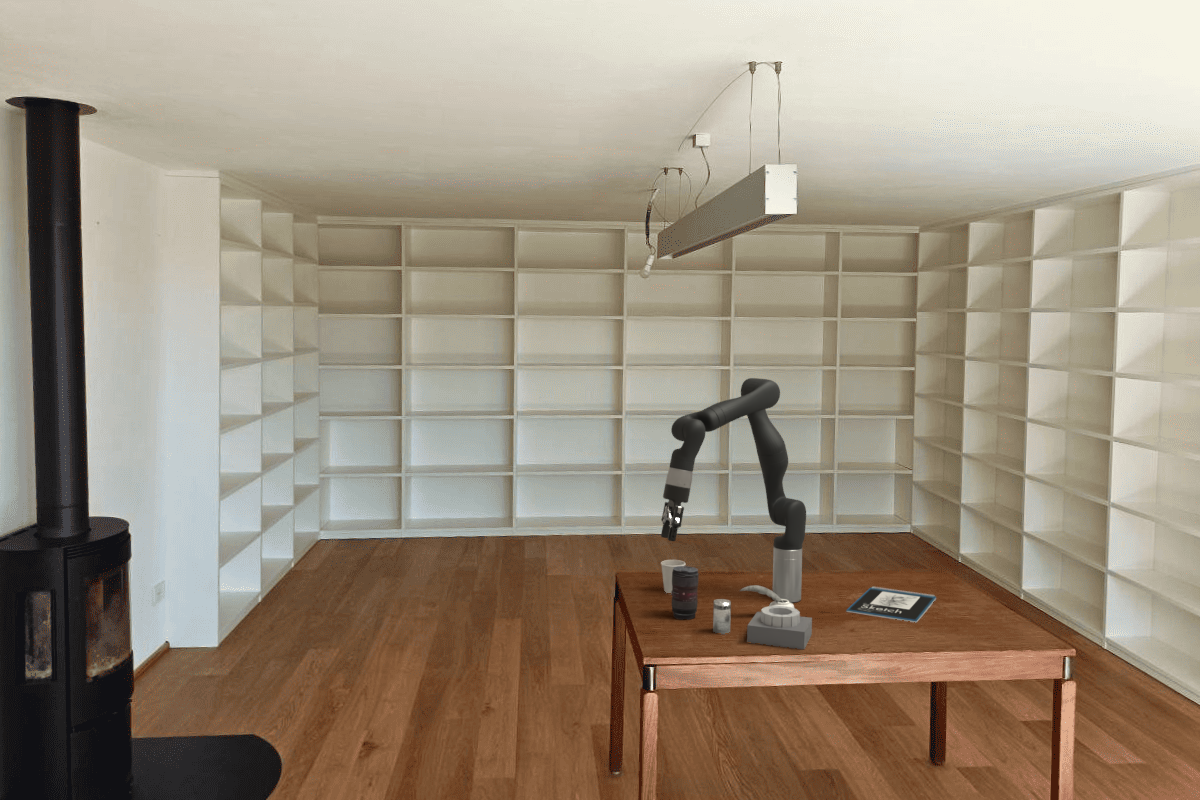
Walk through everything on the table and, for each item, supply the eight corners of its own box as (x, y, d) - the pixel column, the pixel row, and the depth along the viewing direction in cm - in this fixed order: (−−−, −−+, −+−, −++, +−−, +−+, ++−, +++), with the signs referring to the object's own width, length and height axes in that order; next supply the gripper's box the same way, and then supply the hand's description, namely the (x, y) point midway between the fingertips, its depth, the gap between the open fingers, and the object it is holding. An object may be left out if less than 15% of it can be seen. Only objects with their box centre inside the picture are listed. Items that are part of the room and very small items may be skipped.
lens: (715, 628, 288) (715, 598, 287) (731, 630, 286) (732, 600, 285) (711, 633, 283) (711, 602, 283) (728, 635, 282) (728, 604, 281)
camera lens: (696, 621, 294) (697, 572, 293) (669, 619, 296) (670, 571, 295) (699, 613, 302) (699, 566, 301) (673, 611, 304) (673, 564, 302)
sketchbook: (846, 614, 306) (846, 607, 305) (871, 591, 331) (871, 585, 331) (916, 624, 295) (916, 617, 295) (936, 600, 321) (936, 594, 321)
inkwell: (800, 621, 296) (801, 588, 295) (743, 622, 293) (743, 590, 293) (791, 612, 305) (792, 580, 304) (735, 613, 302) (735, 582, 302)
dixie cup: (662, 587, 331) (662, 559, 330) (686, 589, 329) (687, 560, 329) (658, 594, 323) (659, 564, 322) (683, 596, 321) (684, 566, 320)
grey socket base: (756, 628, 288) (757, 601, 288) (811, 634, 283) (812, 607, 282) (747, 642, 275) (747, 614, 274) (804, 649, 270) (804, 621, 269)
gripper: (696, 488, 280) (686, 544, 279) (684, 485, 294) (674, 538, 293) (671, 484, 279) (661, 539, 278) (660, 481, 293) (650, 534, 292)
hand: (667, 539), depth 286 cm, fingers open, 8 cm apart
